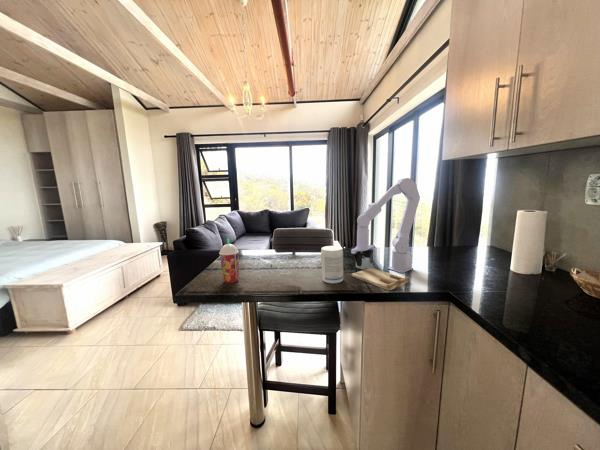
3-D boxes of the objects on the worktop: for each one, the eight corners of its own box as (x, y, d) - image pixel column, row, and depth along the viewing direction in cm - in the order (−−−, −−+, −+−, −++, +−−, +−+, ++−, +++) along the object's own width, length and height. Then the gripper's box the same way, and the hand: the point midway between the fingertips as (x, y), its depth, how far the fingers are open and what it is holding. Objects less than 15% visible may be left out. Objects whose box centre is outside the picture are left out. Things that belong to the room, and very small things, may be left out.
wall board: (371, 269, 119) (371, 265, 119) (409, 282, 103) (409, 277, 102) (351, 276, 112) (351, 271, 111) (388, 290, 95) (388, 285, 95)
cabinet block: (361, 265, 126) (361, 254, 125) (369, 267, 122) (369, 256, 121) (355, 267, 124) (355, 256, 123) (363, 269, 119) (363, 258, 119)
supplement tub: (347, 280, 106) (348, 248, 104) (331, 286, 101) (331, 252, 99) (333, 274, 114) (333, 244, 112) (317, 279, 109) (316, 247, 107)
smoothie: (244, 278, 111) (241, 236, 108) (232, 285, 104) (229, 240, 101) (230, 276, 115) (227, 235, 112) (217, 283, 108) (214, 239, 104)
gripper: (366, 235, 128) (365, 260, 130) (346, 239, 120) (346, 265, 122) (377, 237, 122) (376, 263, 124) (357, 242, 114) (357, 269, 116)
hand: (362, 264), depth 123 cm, fingers closed on cabinet block, 4 cm apart
